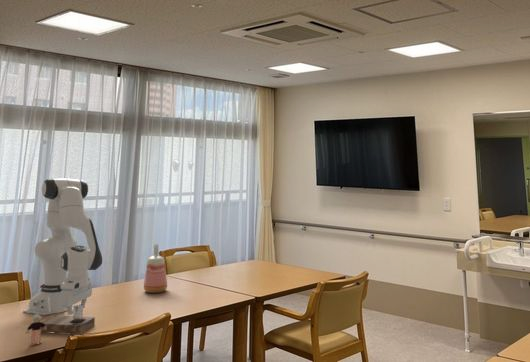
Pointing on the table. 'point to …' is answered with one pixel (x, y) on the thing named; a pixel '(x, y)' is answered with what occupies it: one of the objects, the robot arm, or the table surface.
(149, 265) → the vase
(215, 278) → the table surface
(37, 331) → the grandmother figurine
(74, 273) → the robot arm
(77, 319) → the peg
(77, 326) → the peg board
